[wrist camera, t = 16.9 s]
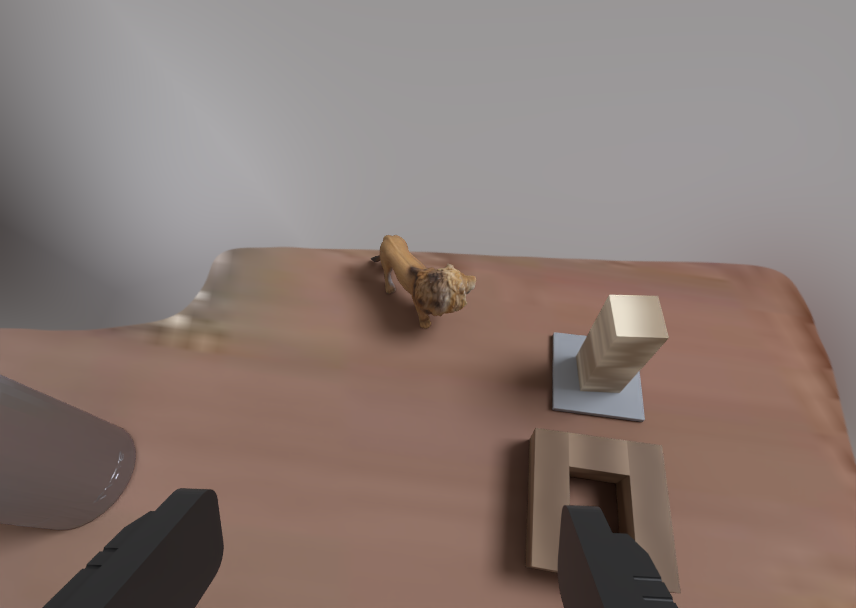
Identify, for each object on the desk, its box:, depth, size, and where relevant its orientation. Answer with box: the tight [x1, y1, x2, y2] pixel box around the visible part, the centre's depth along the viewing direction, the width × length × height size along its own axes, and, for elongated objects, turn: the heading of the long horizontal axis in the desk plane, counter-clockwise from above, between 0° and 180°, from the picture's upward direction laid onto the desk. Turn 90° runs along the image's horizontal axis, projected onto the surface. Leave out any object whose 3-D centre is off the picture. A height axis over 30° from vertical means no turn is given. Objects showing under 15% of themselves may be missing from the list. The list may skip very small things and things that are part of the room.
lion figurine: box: [371, 235, 476, 328], centre depth 44 cm, size 15×5×9 cm, turn 46°
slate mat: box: [552, 333, 645, 422], centre depth 41 cm, size 8×8×1 cm
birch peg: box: [576, 295, 669, 393], centre depth 36 cm, size 4×4×11 cm
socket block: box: [525, 428, 681, 593], centre depth 34 cm, size 10×10×4 cm
